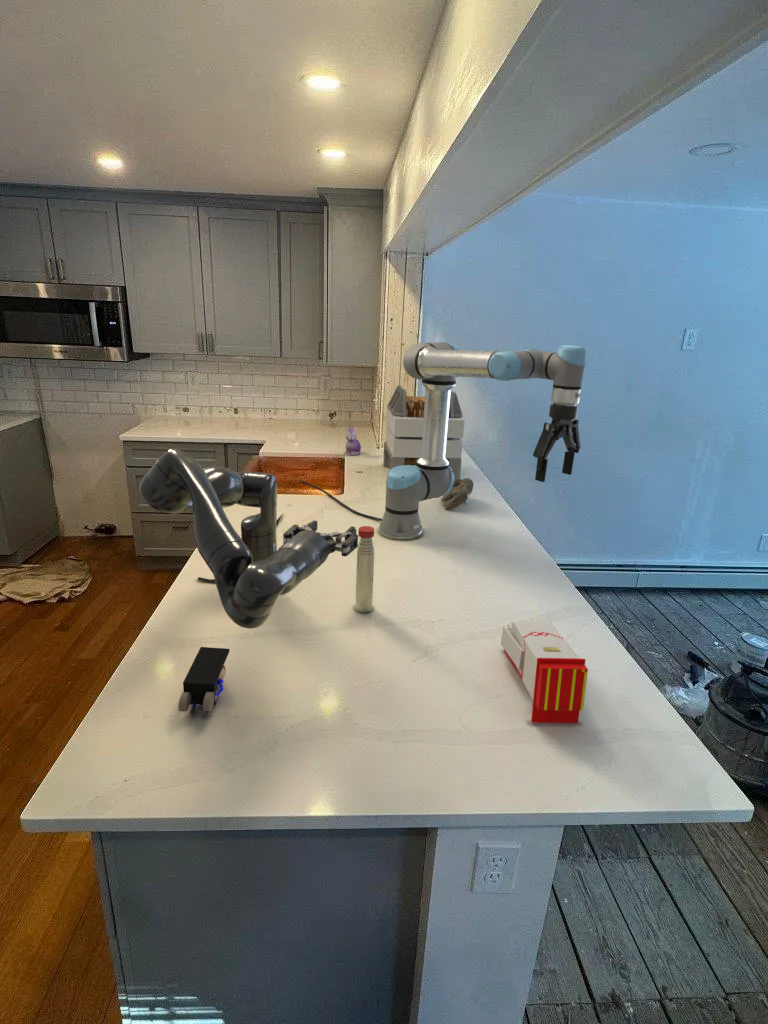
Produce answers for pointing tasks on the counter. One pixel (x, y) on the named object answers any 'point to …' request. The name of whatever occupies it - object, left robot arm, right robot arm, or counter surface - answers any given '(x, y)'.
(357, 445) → the figurine
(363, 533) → the cap
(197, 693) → the black wheeled cart
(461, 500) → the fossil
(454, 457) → the white slatted crate
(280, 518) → the feather
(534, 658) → the toy
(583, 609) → the counter surface
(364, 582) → the bottle
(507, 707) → the counter surface
